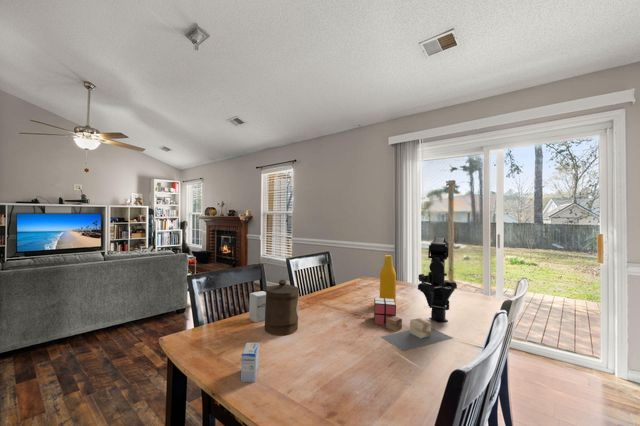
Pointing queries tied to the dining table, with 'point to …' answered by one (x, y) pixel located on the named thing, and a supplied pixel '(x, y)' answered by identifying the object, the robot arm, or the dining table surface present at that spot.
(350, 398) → the dining table surface
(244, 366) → the medicine box
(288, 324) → the wooden container
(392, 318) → the walnut cube
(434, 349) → the dining table surface
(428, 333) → the beech cube
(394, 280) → the beer bottle
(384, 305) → the puzzle cube
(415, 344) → the rubber mat
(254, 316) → the supplement box
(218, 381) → the dining table surface
